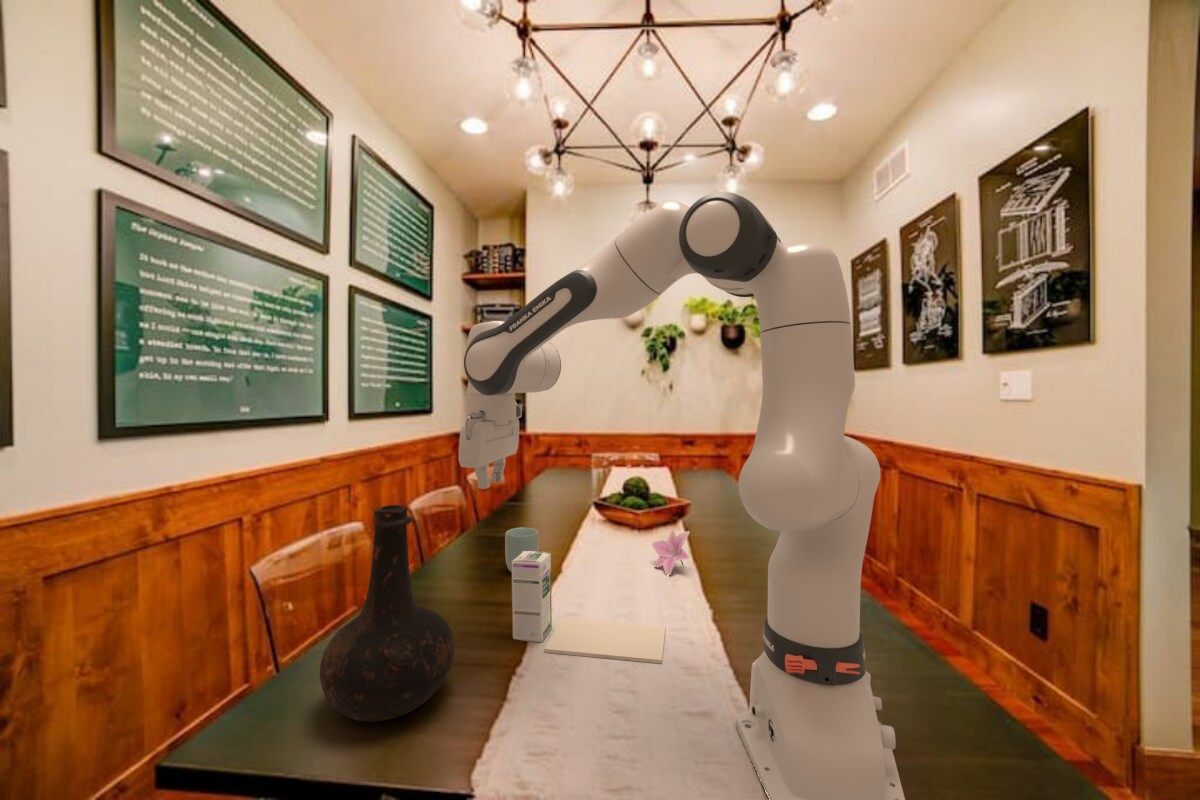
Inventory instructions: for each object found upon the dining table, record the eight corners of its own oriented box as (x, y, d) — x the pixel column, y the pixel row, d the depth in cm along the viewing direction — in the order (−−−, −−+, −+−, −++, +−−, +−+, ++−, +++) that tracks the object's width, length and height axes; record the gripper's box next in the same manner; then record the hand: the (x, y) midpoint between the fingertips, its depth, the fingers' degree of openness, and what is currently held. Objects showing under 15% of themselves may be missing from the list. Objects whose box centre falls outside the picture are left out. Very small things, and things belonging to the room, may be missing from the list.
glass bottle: (325, 763, 62) (323, 531, 61) (316, 688, 77) (314, 502, 76) (470, 713, 71) (470, 512, 71) (437, 656, 86) (436, 490, 86)
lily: (652, 563, 136) (640, 535, 132) (693, 546, 136) (682, 517, 132) (664, 594, 125) (651, 564, 121) (708, 575, 125) (697, 545, 121)
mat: (662, 663, 84) (662, 660, 84) (544, 652, 88) (544, 648, 88) (665, 629, 96) (665, 626, 96) (561, 621, 100) (561, 617, 100)
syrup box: (542, 643, 91) (542, 561, 91) (511, 639, 92) (511, 559, 92) (552, 628, 97) (552, 551, 96) (522, 625, 98) (522, 549, 97)
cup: (544, 570, 127) (544, 530, 127) (523, 580, 121) (523, 537, 120) (520, 564, 131) (520, 525, 131) (498, 573, 125) (498, 532, 125)
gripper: (484, 413, 84) (484, 497, 84) (524, 408, 104) (524, 476, 104) (448, 412, 85) (448, 495, 85) (495, 408, 105) (495, 475, 106)
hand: (490, 485), depth 95 cm, fingers open, 5 cm apart
